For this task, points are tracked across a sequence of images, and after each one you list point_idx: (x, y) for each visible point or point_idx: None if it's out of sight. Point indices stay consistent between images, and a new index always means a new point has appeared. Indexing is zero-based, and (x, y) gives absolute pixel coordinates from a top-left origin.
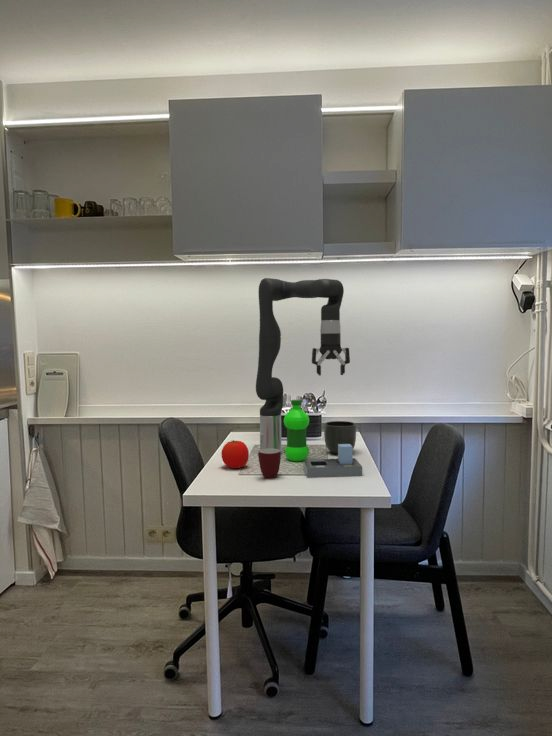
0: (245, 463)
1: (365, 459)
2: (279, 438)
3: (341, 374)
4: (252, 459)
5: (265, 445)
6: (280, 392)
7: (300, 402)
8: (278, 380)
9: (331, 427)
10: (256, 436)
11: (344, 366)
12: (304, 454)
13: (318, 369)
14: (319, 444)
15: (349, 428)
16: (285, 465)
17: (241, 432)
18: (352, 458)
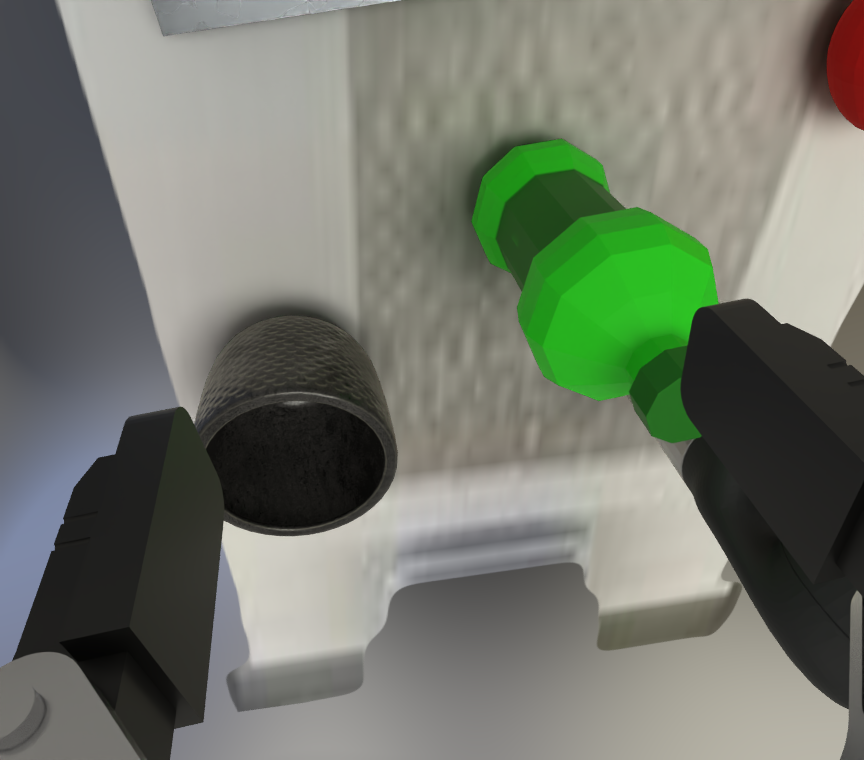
0: (846, 10)
1: (137, 247)
2: None
3: (177, 409)
4: (743, 207)
5: None
6: (776, 570)
7: (655, 379)
8: (848, 668)
9: (349, 395)
10: (648, 555)
11: (33, 636)
12: (501, 163)
13: (842, 400)
14: (399, 486)
15: (226, 399)
16: (598, 88)
17: (691, 591)
18: (181, 26)
